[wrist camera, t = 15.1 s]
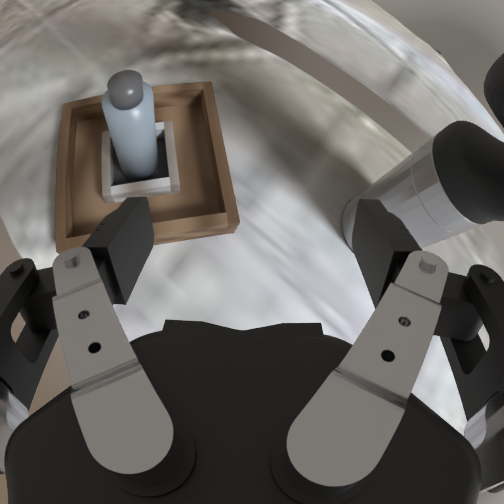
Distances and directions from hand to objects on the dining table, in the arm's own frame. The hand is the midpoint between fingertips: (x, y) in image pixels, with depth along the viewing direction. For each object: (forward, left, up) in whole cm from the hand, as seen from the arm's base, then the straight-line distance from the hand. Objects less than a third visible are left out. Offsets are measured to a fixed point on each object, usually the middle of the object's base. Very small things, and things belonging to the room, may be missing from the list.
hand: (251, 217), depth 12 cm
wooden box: (+6, -15, -22) cm, 27 cm away
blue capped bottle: (+6, -15, -21) cm, 26 cm away
